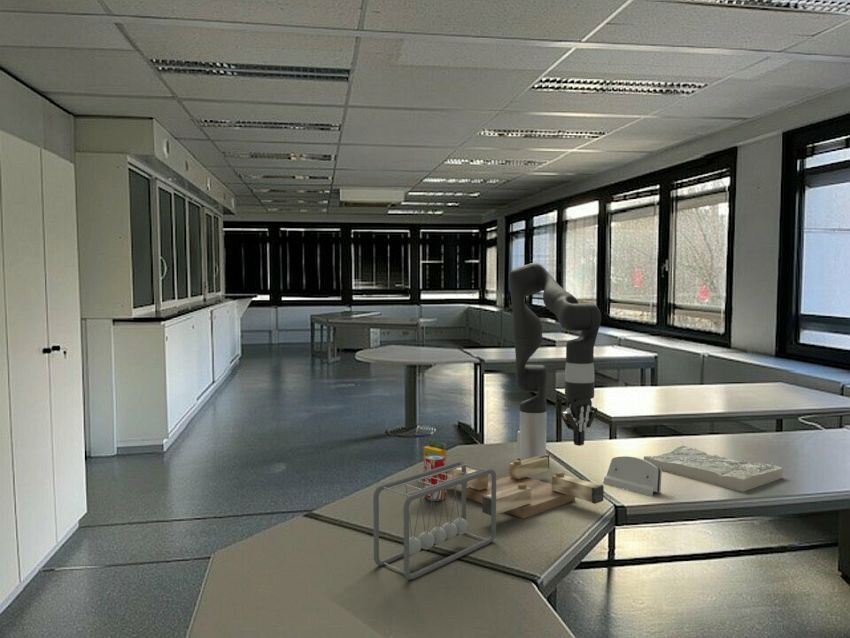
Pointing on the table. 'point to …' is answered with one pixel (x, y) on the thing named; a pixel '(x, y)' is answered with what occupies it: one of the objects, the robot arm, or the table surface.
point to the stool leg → (577, 488)
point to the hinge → (634, 475)
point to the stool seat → (515, 489)
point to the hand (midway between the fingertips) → (578, 444)
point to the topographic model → (716, 469)
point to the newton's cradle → (437, 533)
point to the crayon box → (435, 449)
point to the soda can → (430, 464)
